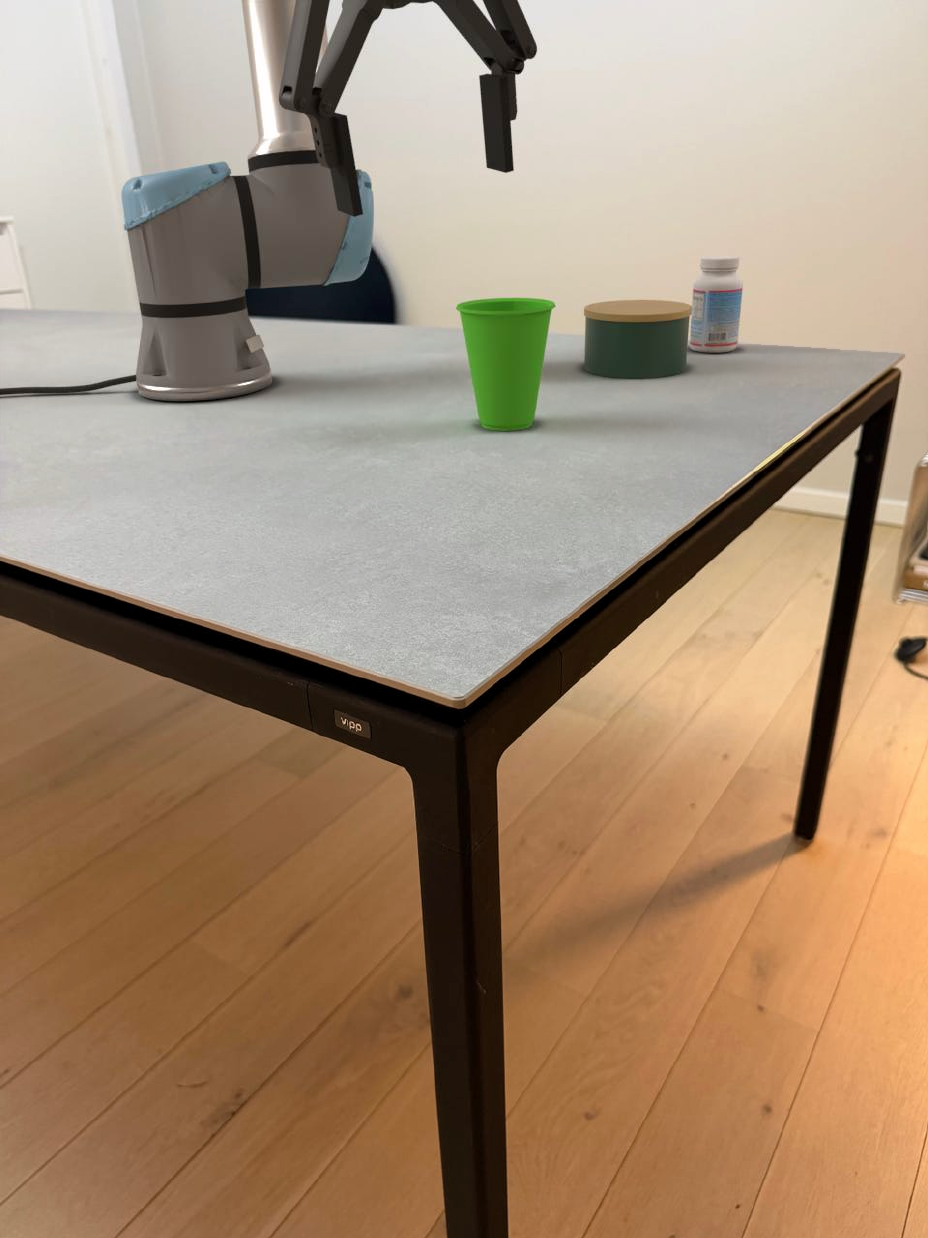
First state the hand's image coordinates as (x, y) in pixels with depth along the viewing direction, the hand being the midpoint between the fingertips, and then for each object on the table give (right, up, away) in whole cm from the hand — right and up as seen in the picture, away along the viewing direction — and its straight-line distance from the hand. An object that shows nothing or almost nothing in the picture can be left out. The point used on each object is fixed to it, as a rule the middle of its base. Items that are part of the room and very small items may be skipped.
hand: (427, 190), depth 71 cm
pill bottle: (+35, +2, +49) cm, 60 cm away
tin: (+23, -3, +40) cm, 46 cm away
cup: (+7, -14, +18) cm, 24 cm away
